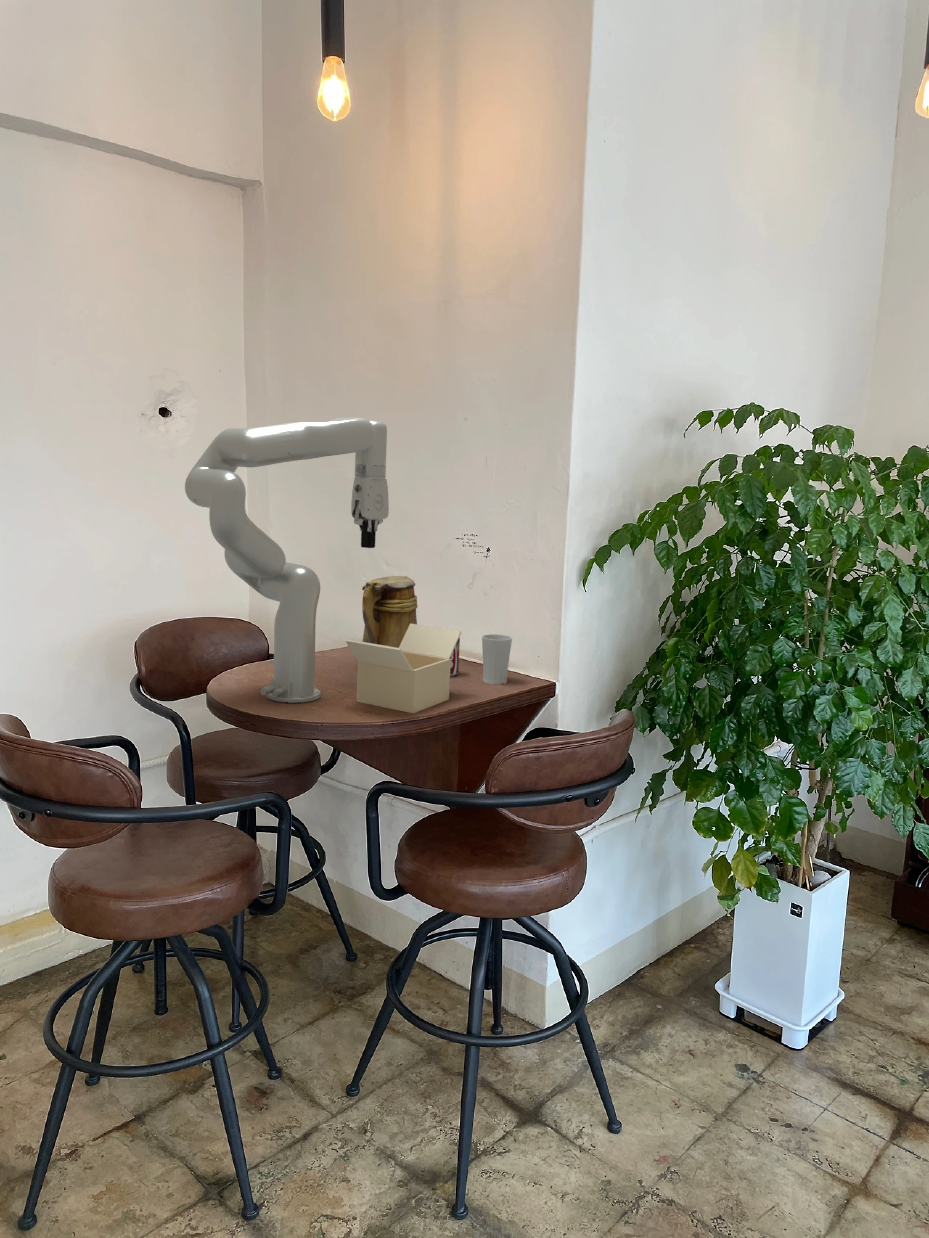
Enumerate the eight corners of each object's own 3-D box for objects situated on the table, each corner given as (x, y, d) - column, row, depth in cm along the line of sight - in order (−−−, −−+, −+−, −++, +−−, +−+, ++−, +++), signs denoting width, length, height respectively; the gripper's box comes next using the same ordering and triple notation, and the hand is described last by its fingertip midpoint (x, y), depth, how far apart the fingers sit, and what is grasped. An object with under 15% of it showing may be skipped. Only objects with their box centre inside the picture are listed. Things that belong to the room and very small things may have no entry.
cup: (513, 684, 236) (515, 640, 234) (483, 685, 234) (486, 640, 232) (505, 677, 244) (507, 634, 242) (476, 677, 242) (478, 634, 240)
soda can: (428, 674, 244) (430, 630, 242) (444, 670, 249) (446, 628, 247) (446, 678, 239) (448, 634, 237) (463, 675, 244) (465, 631, 242)
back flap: (460, 631, 220) (461, 632, 221) (410, 623, 228) (411, 624, 228) (448, 658, 217) (449, 659, 217) (397, 649, 224) (398, 650, 224)
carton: (413, 713, 205) (415, 670, 203) (356, 701, 212) (357, 660, 211) (448, 699, 218) (450, 659, 217) (394, 688, 226) (395, 649, 224)
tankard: (433, 664, 256) (437, 577, 251) (393, 680, 235) (397, 586, 230) (378, 656, 263) (381, 571, 259) (334, 671, 242) (337, 579, 238)
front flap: (346, 639, 205) (345, 640, 204) (400, 648, 197) (399, 650, 197) (359, 660, 210) (358, 661, 210) (412, 669, 203) (411, 671, 203)
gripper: (364, 472, 211) (362, 550, 214) (400, 473, 224) (397, 547, 227) (339, 471, 214) (337, 547, 218) (375, 472, 227) (373, 544, 230)
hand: (368, 547), depth 222 cm, fingers closed
